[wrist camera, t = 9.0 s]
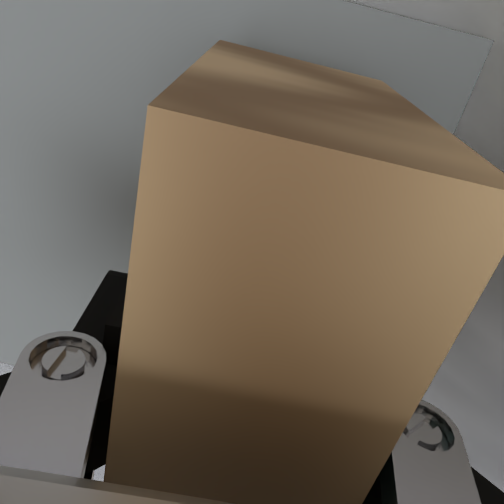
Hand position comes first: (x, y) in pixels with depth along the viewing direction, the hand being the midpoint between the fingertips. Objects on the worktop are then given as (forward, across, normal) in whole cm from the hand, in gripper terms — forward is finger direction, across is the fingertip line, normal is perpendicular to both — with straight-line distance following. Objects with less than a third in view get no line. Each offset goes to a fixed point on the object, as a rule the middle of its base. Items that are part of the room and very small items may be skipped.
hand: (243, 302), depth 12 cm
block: (+1, 0, -1) cm, 1 cm away
